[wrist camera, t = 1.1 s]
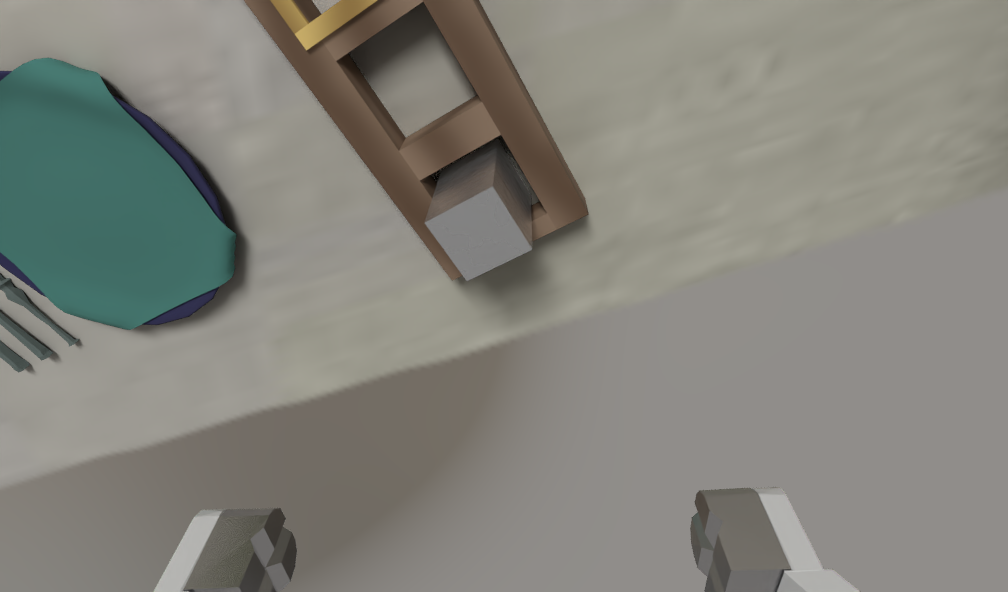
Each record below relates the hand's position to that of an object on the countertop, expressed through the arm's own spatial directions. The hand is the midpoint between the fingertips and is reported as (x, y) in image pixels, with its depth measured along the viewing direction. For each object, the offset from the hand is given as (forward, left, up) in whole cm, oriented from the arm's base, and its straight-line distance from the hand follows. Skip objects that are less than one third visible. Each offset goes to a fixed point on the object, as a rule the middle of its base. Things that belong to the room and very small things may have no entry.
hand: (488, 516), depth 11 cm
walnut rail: (+4, -4, -30) cm, 31 cm away
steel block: (+4, +4, -30) cm, 31 cm away
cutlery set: (+35, -9, -31) cm, 48 cm away
